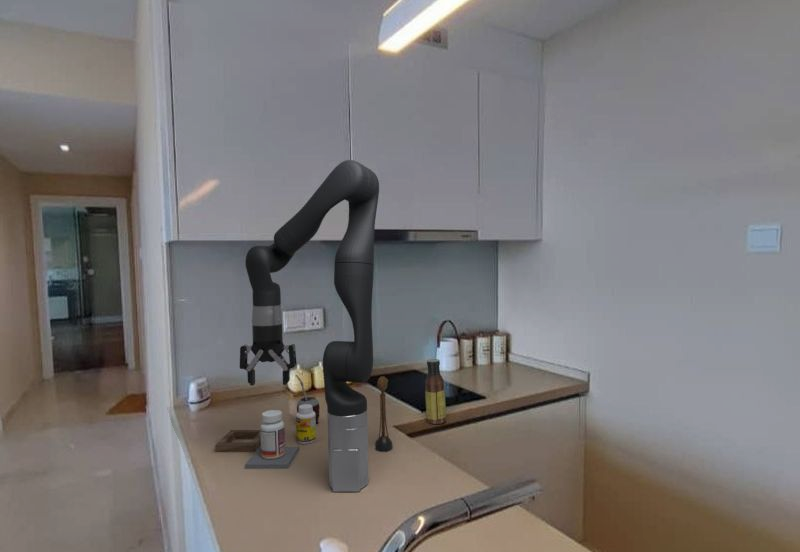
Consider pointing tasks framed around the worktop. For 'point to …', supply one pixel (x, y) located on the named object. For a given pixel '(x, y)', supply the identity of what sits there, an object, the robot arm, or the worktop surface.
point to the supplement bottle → (305, 424)
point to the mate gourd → (309, 402)
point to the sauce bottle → (435, 394)
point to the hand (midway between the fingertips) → (268, 384)
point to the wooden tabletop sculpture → (383, 420)
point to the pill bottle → (272, 435)
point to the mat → (281, 462)
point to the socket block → (230, 446)
